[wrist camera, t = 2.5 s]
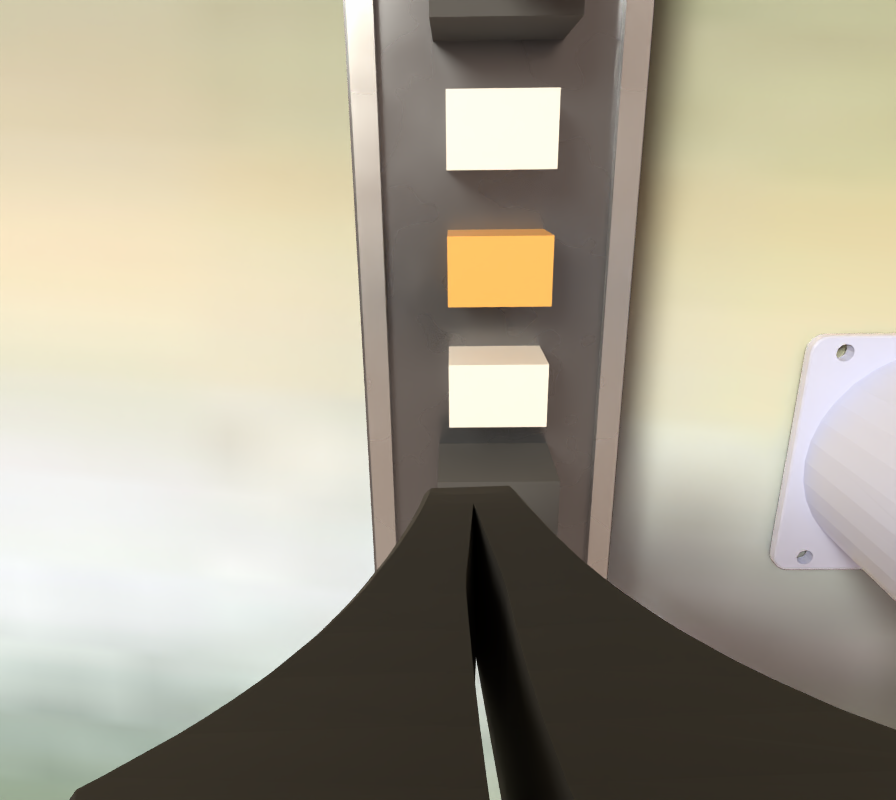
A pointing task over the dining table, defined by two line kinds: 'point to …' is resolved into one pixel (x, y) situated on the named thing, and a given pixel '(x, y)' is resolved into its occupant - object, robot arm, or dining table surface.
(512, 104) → the block
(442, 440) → the strip
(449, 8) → the cord plug
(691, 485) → the dining table surface
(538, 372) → the breaker paddle
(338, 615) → the robot arm
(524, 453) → the cord plug
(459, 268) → the block
